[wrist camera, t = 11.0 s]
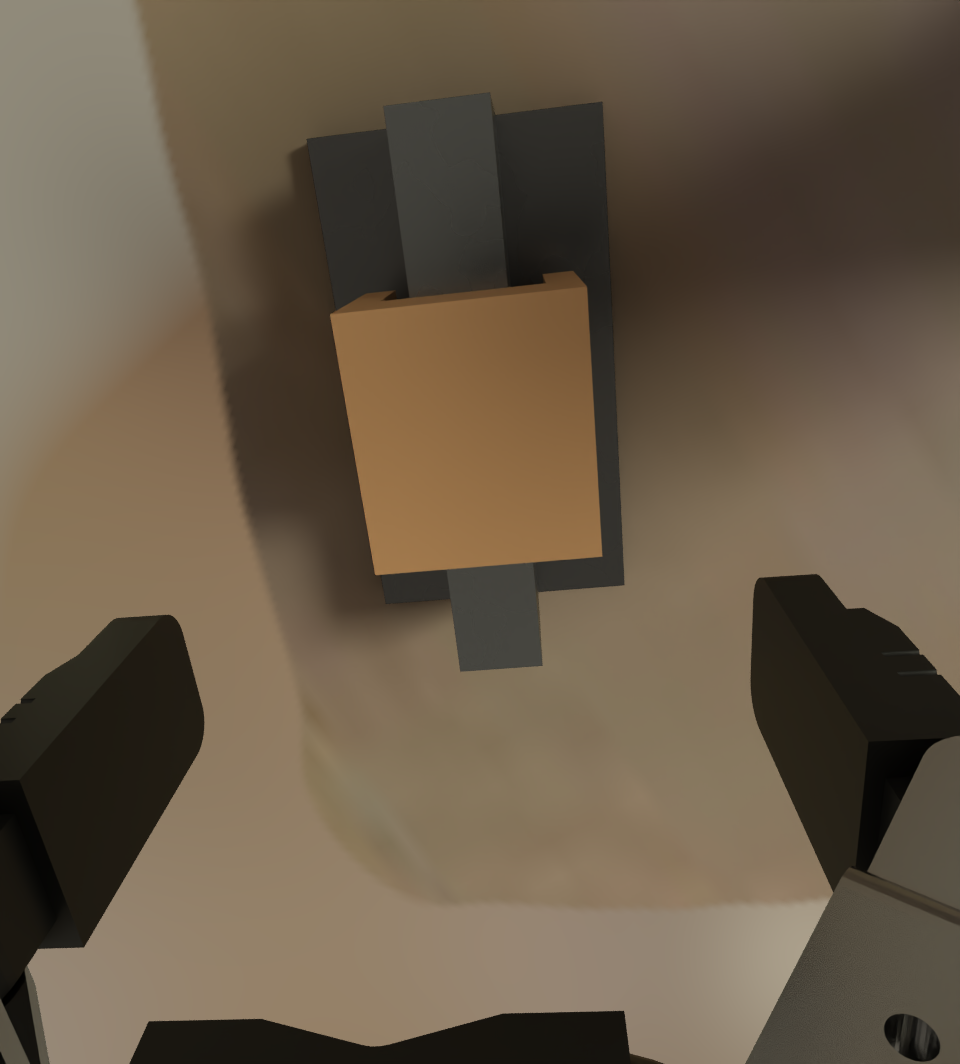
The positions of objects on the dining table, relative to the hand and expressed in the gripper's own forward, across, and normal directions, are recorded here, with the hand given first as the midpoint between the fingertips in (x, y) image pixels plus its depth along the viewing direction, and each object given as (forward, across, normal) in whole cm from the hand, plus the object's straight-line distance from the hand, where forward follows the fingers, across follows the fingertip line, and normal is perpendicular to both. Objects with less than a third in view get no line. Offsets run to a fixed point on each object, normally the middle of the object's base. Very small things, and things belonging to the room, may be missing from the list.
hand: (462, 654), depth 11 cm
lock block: (+15, 0, 0) cm, 15 cm away
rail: (+18, 0, 0) cm, 18 cm away
